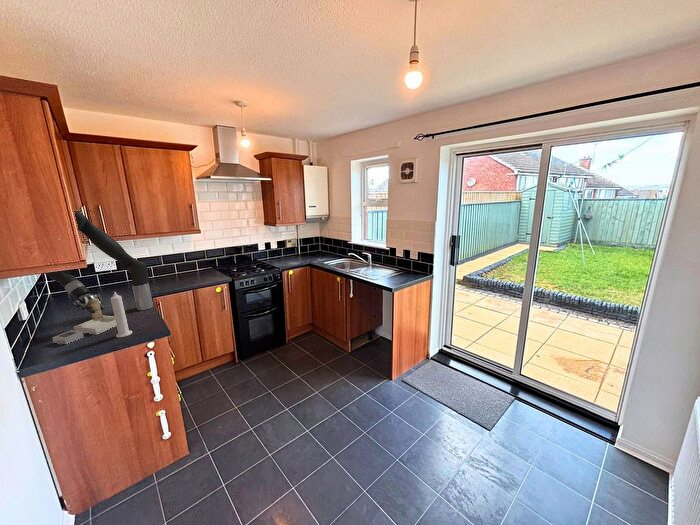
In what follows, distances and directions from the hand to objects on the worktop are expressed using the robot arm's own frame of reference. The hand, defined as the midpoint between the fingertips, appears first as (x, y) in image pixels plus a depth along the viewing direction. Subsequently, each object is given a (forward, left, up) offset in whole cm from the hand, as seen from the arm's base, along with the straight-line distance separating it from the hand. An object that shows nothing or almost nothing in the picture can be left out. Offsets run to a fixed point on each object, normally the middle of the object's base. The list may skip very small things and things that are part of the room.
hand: (98, 310), depth 164 cm
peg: (-1, -2, -6) cm, 6 cm away
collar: (+12, -11, -10) cm, 19 cm away
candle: (+17, +15, -11) cm, 25 cm away
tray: (-1, -1, -10) cm, 11 cm away
